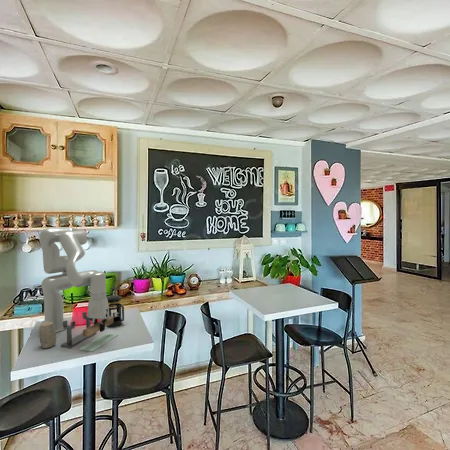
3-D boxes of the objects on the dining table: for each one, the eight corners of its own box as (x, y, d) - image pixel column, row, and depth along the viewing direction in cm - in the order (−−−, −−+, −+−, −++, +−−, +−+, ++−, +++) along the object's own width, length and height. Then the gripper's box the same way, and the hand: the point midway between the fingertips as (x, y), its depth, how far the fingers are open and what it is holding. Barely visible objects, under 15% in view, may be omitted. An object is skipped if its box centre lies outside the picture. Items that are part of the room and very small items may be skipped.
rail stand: (60, 347, 149) (60, 322, 149) (87, 332, 167) (86, 310, 167) (70, 348, 147) (69, 323, 147) (96, 333, 166) (95, 311, 165)
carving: (42, 344, 152) (41, 321, 152) (58, 343, 154) (57, 320, 153) (37, 350, 146) (36, 326, 145) (54, 348, 148) (53, 324, 147)
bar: (83, 336, 145) (82, 330, 144) (109, 321, 164) (108, 316, 164) (88, 336, 144) (87, 330, 144) (113, 322, 163) (113, 316, 163)
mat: (79, 350, 146) (79, 348, 145) (105, 334, 165) (105, 333, 165) (92, 351, 143) (92, 350, 143) (117, 335, 163) (117, 334, 163)
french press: (101, 327, 175) (100, 288, 175) (110, 321, 185) (110, 285, 184) (119, 328, 173) (118, 289, 172) (127, 322, 182) (127, 286, 181)
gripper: (80, 296, 152) (81, 332, 152) (107, 298, 148) (108, 335, 148) (90, 293, 159) (91, 326, 160) (116, 294, 155) (117, 329, 155)
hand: (99, 330), depth 154 cm, fingers closed on bar, 3 cm apart
